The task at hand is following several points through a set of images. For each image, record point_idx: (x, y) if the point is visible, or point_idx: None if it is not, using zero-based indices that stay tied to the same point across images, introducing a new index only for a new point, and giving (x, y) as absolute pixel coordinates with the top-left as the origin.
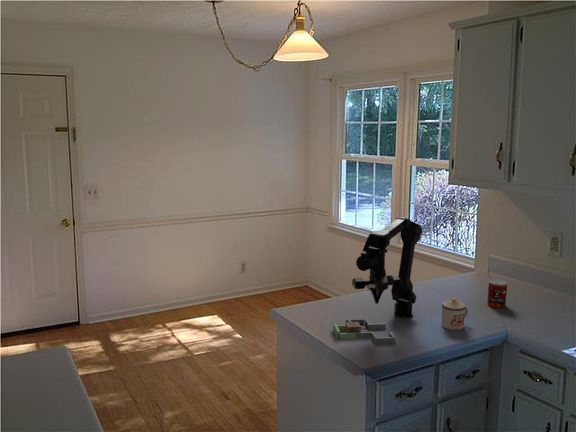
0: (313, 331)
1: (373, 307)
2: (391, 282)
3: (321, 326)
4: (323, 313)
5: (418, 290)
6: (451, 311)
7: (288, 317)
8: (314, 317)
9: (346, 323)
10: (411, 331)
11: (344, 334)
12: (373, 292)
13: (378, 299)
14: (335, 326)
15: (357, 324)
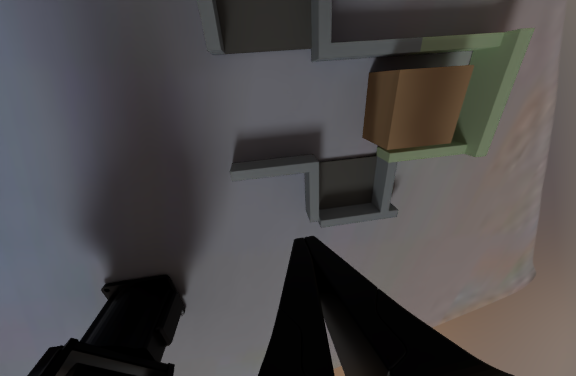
0: (528, 134)
1: (254, 332)
2: None
3: (475, 182)
4: (418, 279)
5: None
6: None
7: (527, 245)
8: (457, 251)
9: (454, 125)
10: (93, 132)
11: (478, 34)
12: (455, 359)
13: (300, 267)
14: (501, 110)
15: (405, 109)
